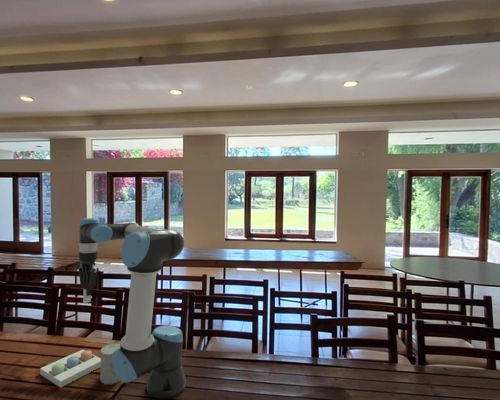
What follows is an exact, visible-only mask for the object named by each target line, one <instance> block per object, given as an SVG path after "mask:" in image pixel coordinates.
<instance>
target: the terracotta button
mask: <svg viewBox="0 0 500 400" xmlns="http://www.w3.org/2000/svg"><path fill="white" fill-rule="evenodd" d="M92 354H93V350H91V349H90V350H89V349H88V350H85V351H84V352H82V353H81V361H83V362H85V361H87V360H89V359H91V358H92Z"/></svg>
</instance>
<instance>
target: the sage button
mask: <svg viewBox="0 0 500 400" xmlns="http://www.w3.org/2000/svg"><path fill="white" fill-rule="evenodd" d="M62 372H64V363H57V364H55V365H53V366H52V375H53V376H56V375H58V374H60V373H62Z"/></svg>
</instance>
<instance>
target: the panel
mask: <svg viewBox="0 0 500 400" xmlns="http://www.w3.org/2000/svg"><path fill="white" fill-rule="evenodd" d="M84 351H86V350H84V349H80V350H79V351H76V352H74V353H71V354H70V355H67V356H65V357H63V358H61V359H58V360H57V361H53V362H51V363H49V364H47V365H45V366H43V367H40V368H39V375H40V376H42V377H43V378H45V379H46V380H48V381H49V382H51V383H53V384H54V385H56V386H57V387H59V388H63V387H65V386H67V385H68V384H70V383H73V382H74V381H76V380H78V379H80V378H82V377H85V376H86V375H88V374H90V373H91V371H92V372H93V370H94V371H95V370H97V369H99V368H101V357H99V356H97V355H95V354H94V353H92V358H91V359H89V360H87V361H85V362H83V361H81V353H82V352H84ZM73 356H77V357H79V365H77V366H75V367H73V368H71V369H69V368H68V367H67V359H68V358H70V357H73ZM57 363H64V372H62V373H60V374H58V375H56V376H53V375H52V366H53V365H55V364H57ZM72 381H73V382H72Z"/></svg>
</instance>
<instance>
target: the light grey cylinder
mask: <svg viewBox="0 0 500 400" xmlns="http://www.w3.org/2000/svg"><path fill="white" fill-rule="evenodd" d="M116 349H120V342H112V343H107V344H106V345H104V346H102V347H101V349H100V358H101V367H100V374H99V376H100V378H99V381H101V382H102V383H104V384H103V385H106V384H109V385H114V383H115V384H117V383H119V382H122V381H121V380H120V379H119V378H118V376H117V375H116V373H115V370H114V367H113V363H112V354H113V352H114V351H115V350H116ZM101 382H100V383H101ZM102 383H101V384H102Z"/></svg>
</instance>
